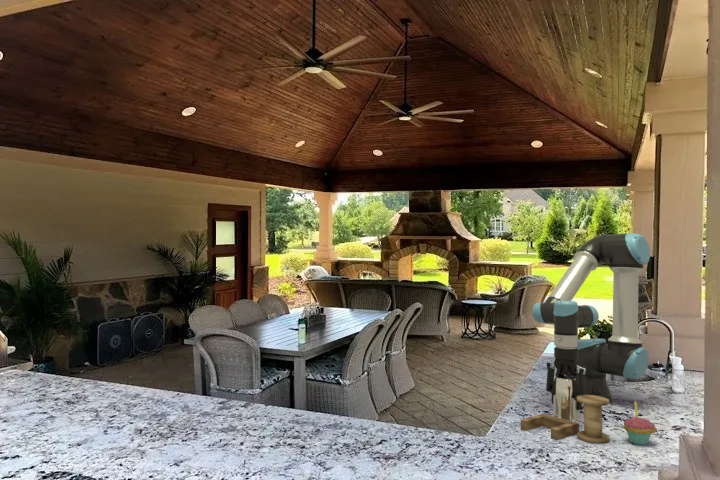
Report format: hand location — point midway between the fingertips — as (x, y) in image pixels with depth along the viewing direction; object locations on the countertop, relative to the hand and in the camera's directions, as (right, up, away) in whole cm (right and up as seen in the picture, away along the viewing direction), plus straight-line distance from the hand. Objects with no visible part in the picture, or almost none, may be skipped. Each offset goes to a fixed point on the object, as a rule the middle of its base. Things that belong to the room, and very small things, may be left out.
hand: (566, 416), depth 179 cm
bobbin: (+2, -1, -16) cm, 16 cm away
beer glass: (0, -2, 0) cm, 2 cm away
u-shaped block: (-9, -2, -9) cm, 13 cm away
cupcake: (+14, -1, -19) cm, 24 cm away
